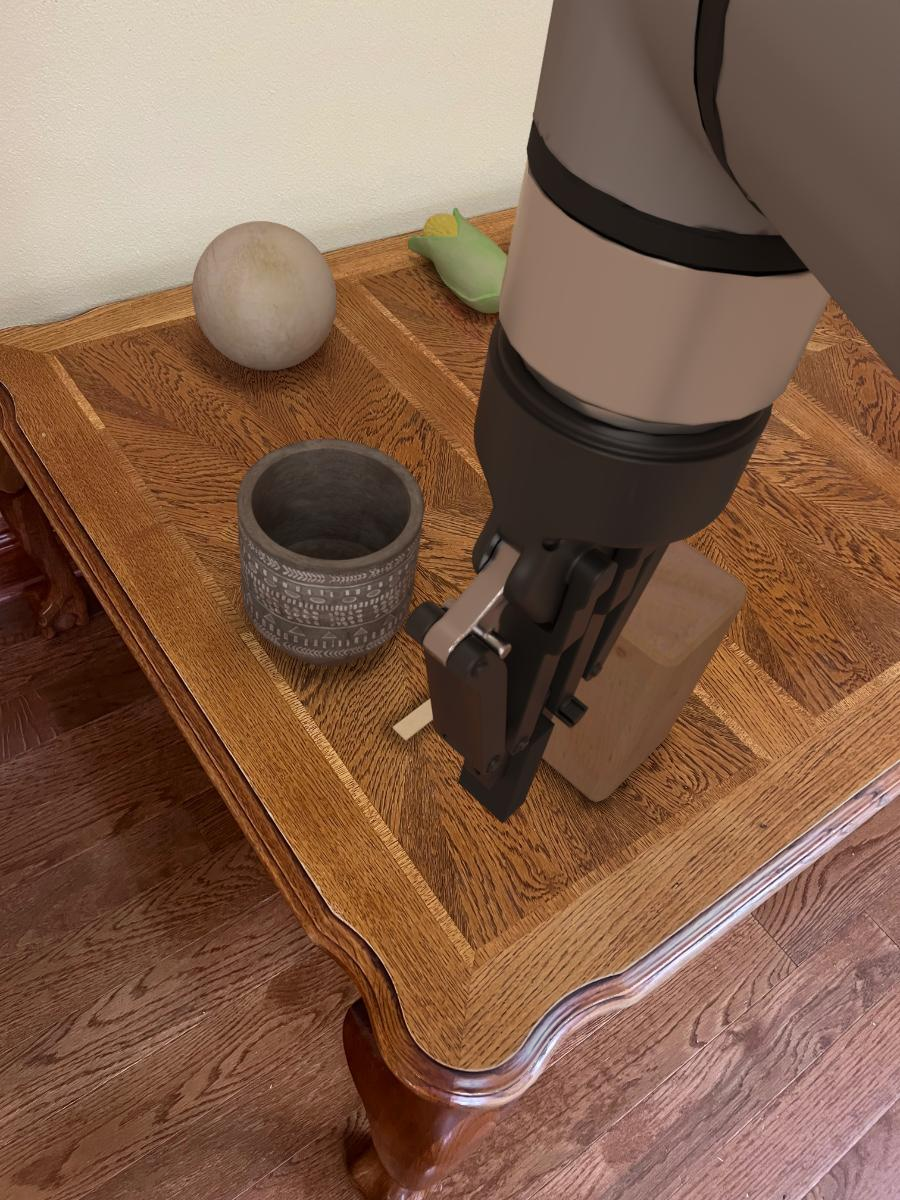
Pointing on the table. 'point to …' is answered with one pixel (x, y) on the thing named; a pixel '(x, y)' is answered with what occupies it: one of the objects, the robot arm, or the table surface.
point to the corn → (463, 259)
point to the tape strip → (414, 721)
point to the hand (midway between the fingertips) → (491, 792)
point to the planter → (328, 548)
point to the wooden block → (647, 672)
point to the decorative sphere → (264, 295)
